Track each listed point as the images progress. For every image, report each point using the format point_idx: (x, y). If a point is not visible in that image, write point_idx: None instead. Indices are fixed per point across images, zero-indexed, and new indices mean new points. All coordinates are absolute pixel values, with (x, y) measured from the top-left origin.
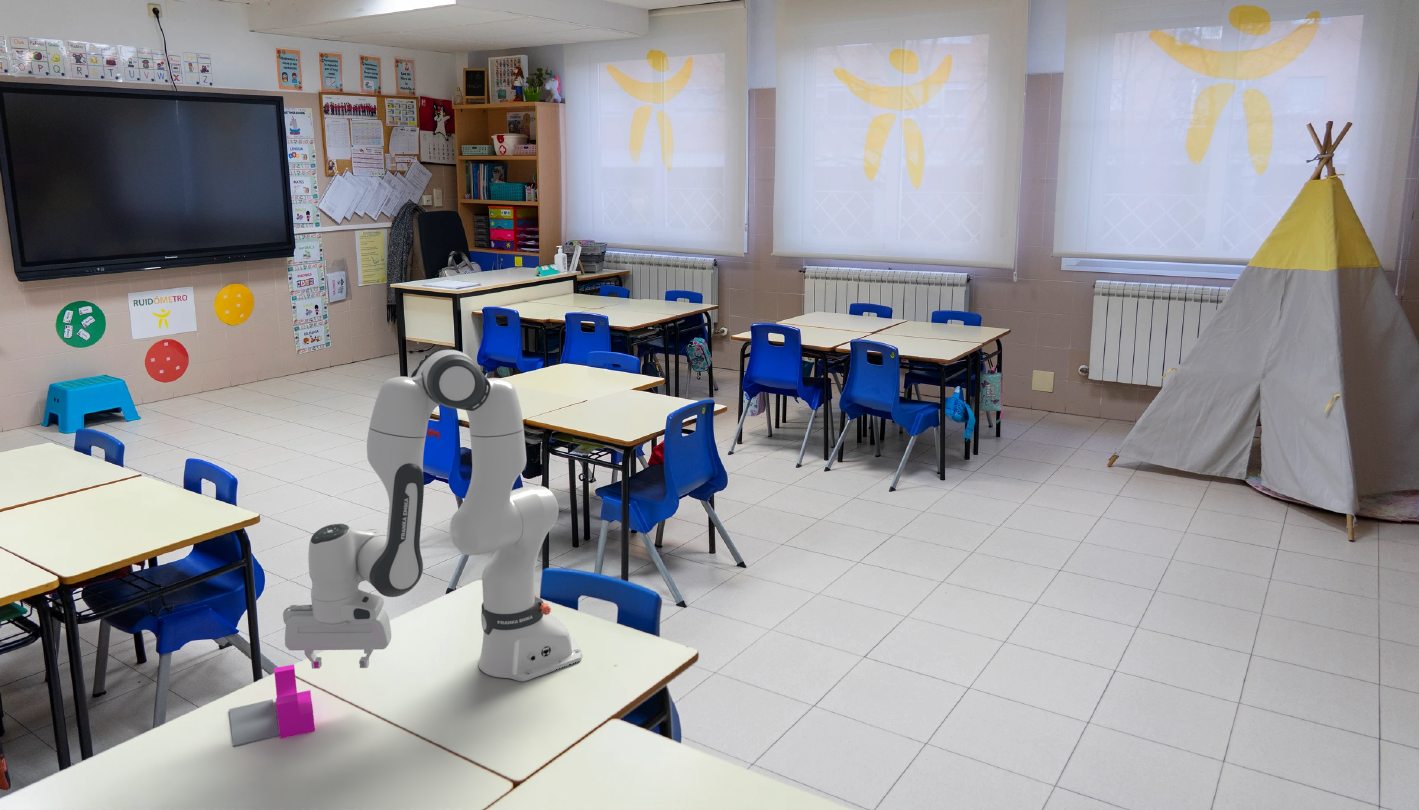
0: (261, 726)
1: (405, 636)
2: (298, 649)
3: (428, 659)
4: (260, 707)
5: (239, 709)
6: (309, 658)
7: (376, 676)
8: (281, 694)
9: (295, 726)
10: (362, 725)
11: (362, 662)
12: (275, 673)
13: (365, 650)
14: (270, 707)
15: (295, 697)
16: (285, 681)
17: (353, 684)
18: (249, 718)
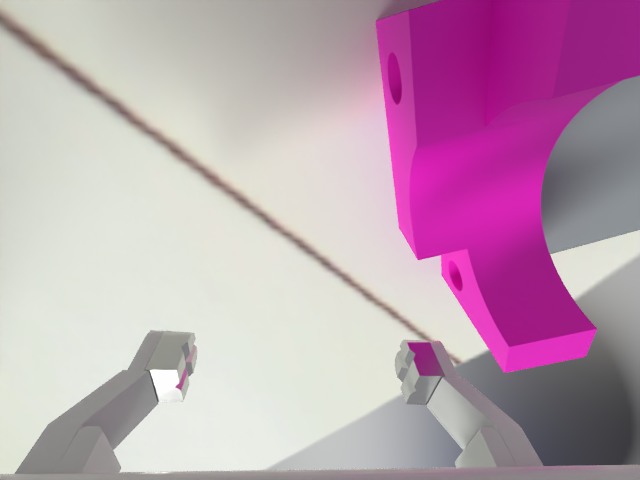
0: None
1: (218, 449)
2: (602, 475)
3: None
4: (556, 225)
5: (616, 222)
6: (477, 396)
7: (232, 339)
8: (526, 240)
9: None
10: (164, 35)
11: (159, 360)
12: (589, 325)
13: (75, 458)
14: None
15: (577, 32)
16: (524, 294)
17: (288, 312)
18: (605, 165)
